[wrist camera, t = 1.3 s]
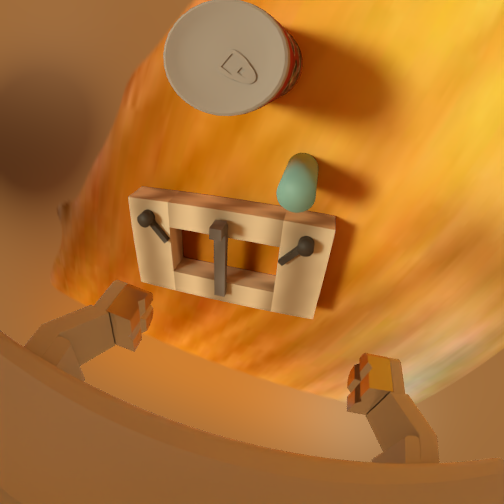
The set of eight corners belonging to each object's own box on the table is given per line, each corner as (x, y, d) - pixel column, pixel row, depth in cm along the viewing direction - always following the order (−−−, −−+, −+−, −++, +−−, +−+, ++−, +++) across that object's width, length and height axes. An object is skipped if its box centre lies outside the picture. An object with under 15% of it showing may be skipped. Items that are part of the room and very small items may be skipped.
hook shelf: (335, 216, 31) (335, 242, 27) (314, 302, 38) (310, 332, 34) (141, 186, 34) (117, 205, 30) (151, 268, 41) (133, 292, 37)
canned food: (281, 113, 27) (256, 137, 18) (206, 80, 26) (146, 90, 17) (318, 44, 22) (313, 26, 13) (237, 11, 22) (188, -15, 13)
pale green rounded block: (320, 155, 28) (318, 180, 22) (316, 184, 30) (312, 215, 24) (289, 150, 28) (278, 173, 23) (286, 179, 30) (274, 209, 24)
